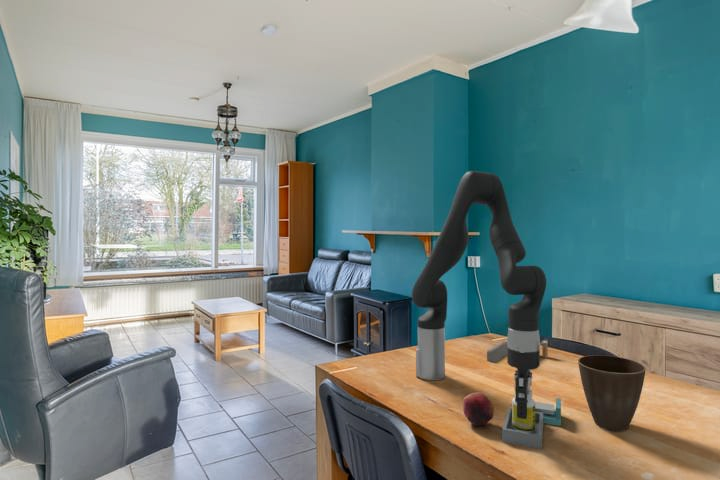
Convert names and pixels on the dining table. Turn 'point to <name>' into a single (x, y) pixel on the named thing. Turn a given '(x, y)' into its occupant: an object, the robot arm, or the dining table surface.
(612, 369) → the plant pot
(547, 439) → the dining table surface
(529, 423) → the supplement bottle
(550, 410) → the plate
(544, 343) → the skate ramp
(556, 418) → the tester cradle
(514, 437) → the trough
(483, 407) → the fruit
